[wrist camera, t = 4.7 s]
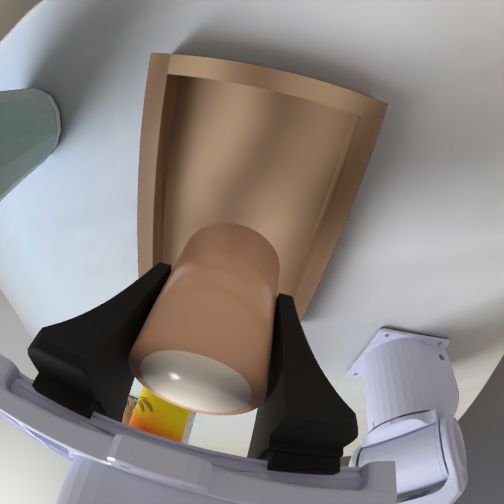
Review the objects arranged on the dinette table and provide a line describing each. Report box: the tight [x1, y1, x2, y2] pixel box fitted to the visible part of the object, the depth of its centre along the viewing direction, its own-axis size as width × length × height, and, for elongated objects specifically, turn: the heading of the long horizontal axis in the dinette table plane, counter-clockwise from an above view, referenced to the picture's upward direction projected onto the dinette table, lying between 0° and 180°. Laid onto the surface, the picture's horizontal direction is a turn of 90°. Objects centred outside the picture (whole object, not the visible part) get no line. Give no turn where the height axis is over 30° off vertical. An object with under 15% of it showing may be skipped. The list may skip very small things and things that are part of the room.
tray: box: [137, 53, 388, 323], centre depth 20 cm, size 13×20×3 cm, turn 168°
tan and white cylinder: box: [128, 223, 280, 415], centre depth 12 cm, size 5×5×7 cm
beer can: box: [129, 386, 196, 444], centre depth 27 cm, size 6×6×15 cm
